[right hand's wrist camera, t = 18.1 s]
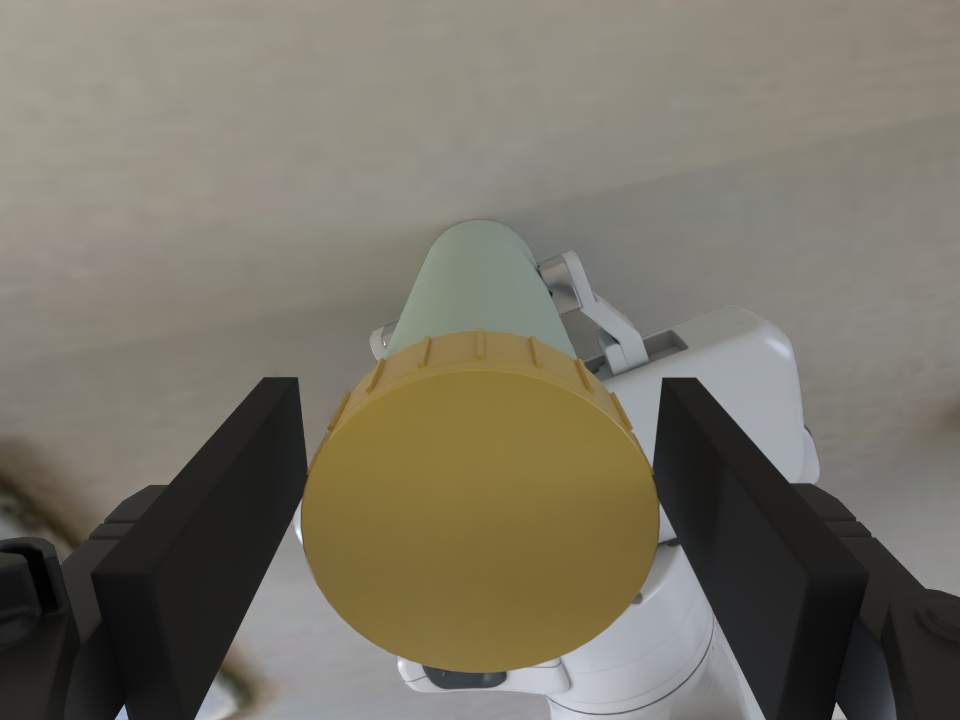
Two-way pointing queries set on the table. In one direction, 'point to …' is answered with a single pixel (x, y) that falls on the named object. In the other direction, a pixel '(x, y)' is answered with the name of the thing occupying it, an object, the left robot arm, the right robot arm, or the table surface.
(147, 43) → the table surface
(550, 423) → the lid
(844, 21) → the table surface
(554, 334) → the green thermos bottle
